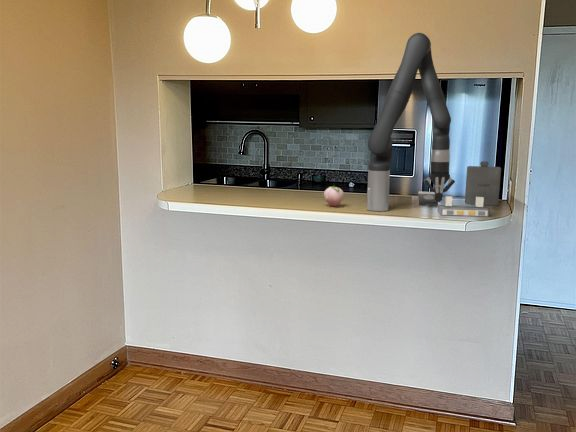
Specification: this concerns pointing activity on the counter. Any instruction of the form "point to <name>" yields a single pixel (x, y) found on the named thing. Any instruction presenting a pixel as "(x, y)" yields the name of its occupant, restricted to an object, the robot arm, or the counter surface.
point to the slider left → (448, 200)
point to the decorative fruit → (333, 195)
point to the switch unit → (463, 211)
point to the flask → (482, 184)
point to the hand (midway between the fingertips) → (438, 201)
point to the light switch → (427, 198)
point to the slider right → (479, 201)
